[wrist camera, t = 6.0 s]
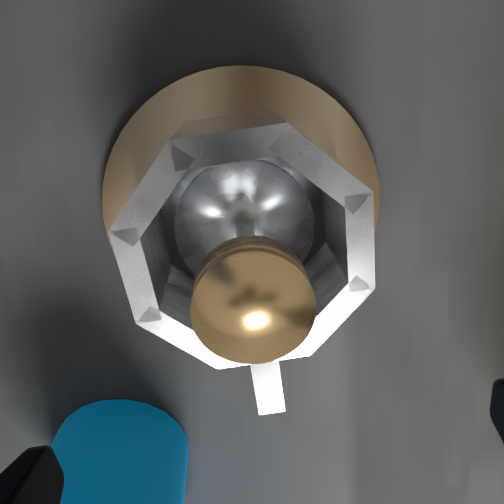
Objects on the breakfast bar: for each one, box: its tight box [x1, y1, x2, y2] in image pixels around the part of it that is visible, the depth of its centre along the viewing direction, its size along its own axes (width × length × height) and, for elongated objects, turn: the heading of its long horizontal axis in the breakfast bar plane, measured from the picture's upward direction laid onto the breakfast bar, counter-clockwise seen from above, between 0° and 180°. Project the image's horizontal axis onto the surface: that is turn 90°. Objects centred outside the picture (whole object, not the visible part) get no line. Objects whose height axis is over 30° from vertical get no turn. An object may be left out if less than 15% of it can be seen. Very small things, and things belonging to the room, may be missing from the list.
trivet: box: [102, 65, 380, 255], centre depth 20 cm, size 13×13×1 cm
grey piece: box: [108, 109, 375, 415], centre depth 18 cm, size 9×12×5 cm
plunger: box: [174, 159, 316, 364], centre depth 15 cm, size 6×6×7 cm
